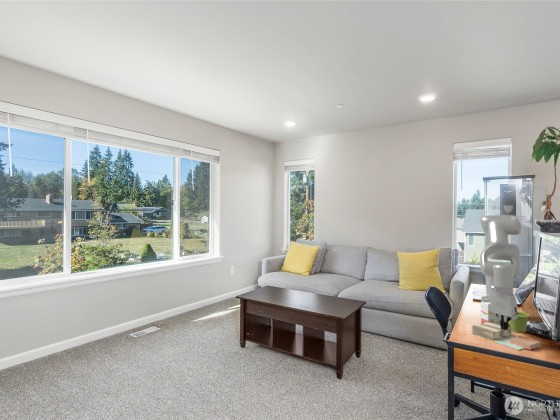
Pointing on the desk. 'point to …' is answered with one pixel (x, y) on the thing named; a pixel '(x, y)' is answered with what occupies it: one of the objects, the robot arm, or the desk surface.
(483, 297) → the ink cartridge box
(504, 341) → the mat
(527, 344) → the coaster
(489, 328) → the block
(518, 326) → the plant pot
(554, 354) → the desk surface
